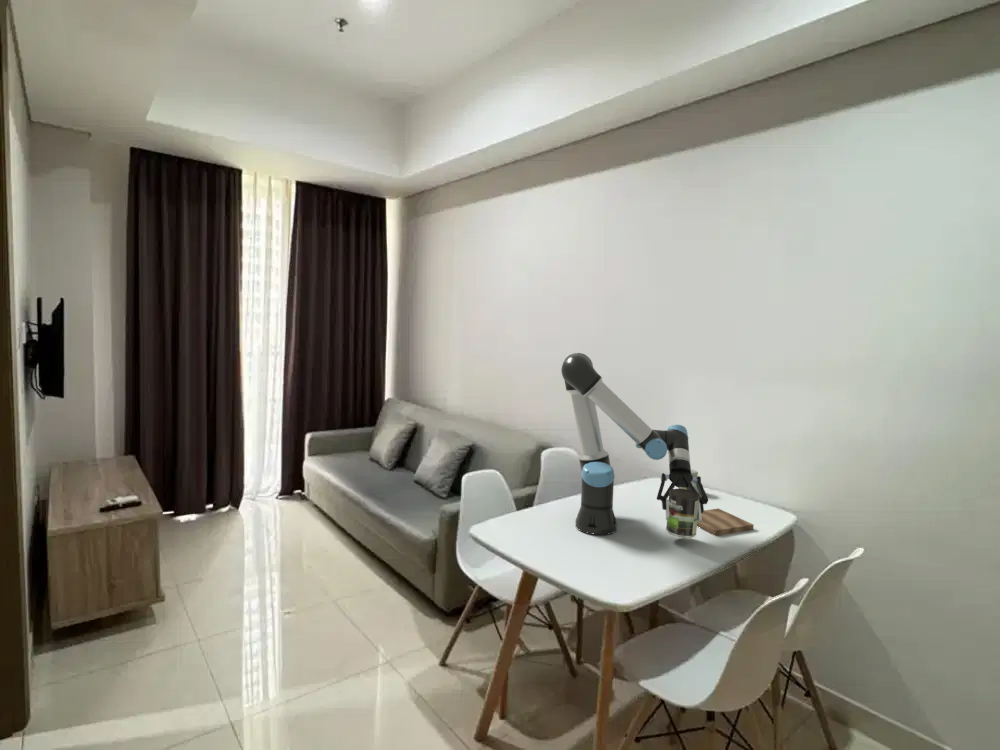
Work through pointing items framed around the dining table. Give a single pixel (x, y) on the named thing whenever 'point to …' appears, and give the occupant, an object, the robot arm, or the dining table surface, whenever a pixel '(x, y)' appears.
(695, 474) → the air freshener
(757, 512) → the dining table surface
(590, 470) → the robot arm
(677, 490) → the coffee can
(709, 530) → the walnut board
